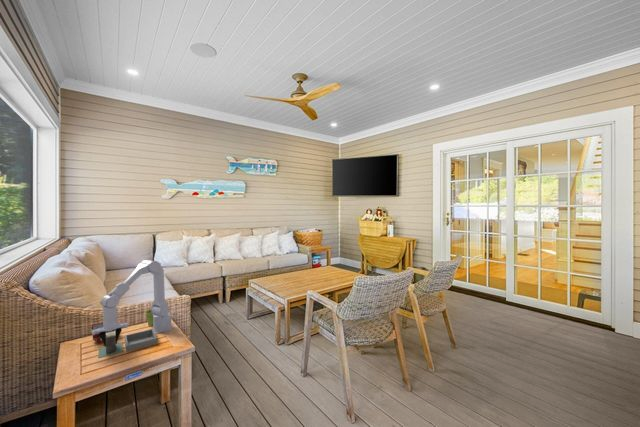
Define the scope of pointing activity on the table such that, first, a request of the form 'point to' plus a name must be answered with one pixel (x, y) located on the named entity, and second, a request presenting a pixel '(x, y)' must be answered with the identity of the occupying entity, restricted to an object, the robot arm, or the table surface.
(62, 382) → the table surface
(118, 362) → the table surface
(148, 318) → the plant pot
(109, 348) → the box
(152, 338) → the grey tray
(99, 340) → the toy fire truck
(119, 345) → the mat
